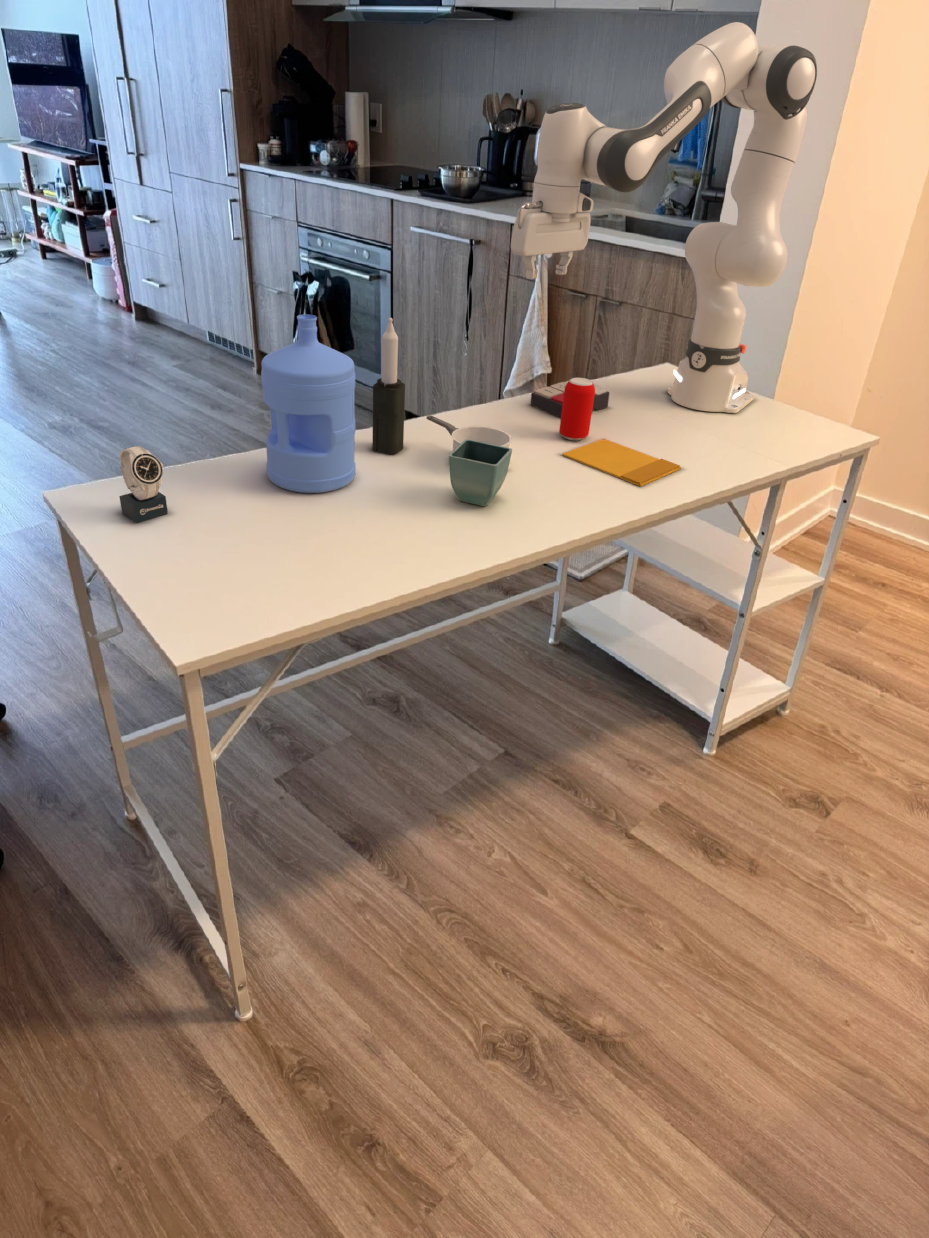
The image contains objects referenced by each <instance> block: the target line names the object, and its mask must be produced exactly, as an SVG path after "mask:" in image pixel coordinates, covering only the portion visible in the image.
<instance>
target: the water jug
mask: <svg viewBox="0 0 929 1238" xmlns="http://www.w3.org/2000/svg"><path fill="white" fill-rule="evenodd" d="M296 319H297V324H298V325H297V335H298V336H297V340H296V341H295V342H293V343H290V344H288V345H286V346H283V347H280V348H279V349H277V350H274V351H272V352H269V353H267V354H266V355H265V356H264V357H263V358H262V360H261V371H260V378H261V385H262V386H261V387H262V394H263V395H262V396H263V402H264V404H265V405H266V406H268V407H269V409H270V410H269V411H270V431H269V434H268V435H267V437H266V439H265V445H266V446H265V447H266V449H265V450H266V475H267V478H268V479H269V480H270V482H272V483H273V484H274V485H275V486H277V487H279V488H282V489H284V490H287V491H290V492H296V493H302V494H303V493H304V494H319V493H327V492H332V491H336V490H339V489H342V488H344V487H346V486H348V485H349V484H350V483H352V482H353V480H354V479H355V476H356V462H355V461H356V460H355V456H356V455H355V447H356V445H355V443H356V442H355V440H356V439H355V438H356V437H355V435H356V416H355V413H356V412H355V390H356V371H355V361H354V360H353V359H352V358H351V357H350V356H348V355H347V354H345V353H343V352H341V351H338V350H336V349H334V348H332V347H330V346H327V345H325V344H323V343H321V342H319V339H318V333H317V332H318V326H317V320H318V317H317V315H313V314H307V313H306V314H305V313H304V314H298V315H297V316H296Z"/></svg>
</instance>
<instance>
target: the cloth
mask: <svg viewBox="0 0 929 1238" xmlns="http://www.w3.org/2000/svg"><path fill="white" fill-rule="evenodd" d="M561 455H562V457H564V458H568V459H570V460H572V461H574V462H578V463H580V464H582V465H585V466H588V467H591V468H593V469H594V470H598V471H599V472H603V473H605V474H607V475H611V476H612V477H615V478H618V479H620V480H623V481H625V482H627V483H631V484H633V485H635V486H637V487H640V488H641V487H644V486H647V485H648V484H650V483H653V482H655V481H657V480H659V479H662V478H664V477H666V476H669V475H672V474H673V473H675V472H678V471H680V470H681V469H682V467H681V465H680V464H677V463H675V462H672V461H669V460H666V459H665V458H657V457H654V456H651V455H649V454H646V453H644V452H640V451H638V450H635V449H633V448H630V447H628V446H624V445H622V444H619V443H616V442H613V441H612V440H608V439H606V438H601V439H598V440H597V441H594V442H590V443H588V444H585V445H583V446H579V447H576V448H574V449H571V450H568V451H566V452H563V453H562V454H561Z"/></svg>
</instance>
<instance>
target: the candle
mask: <svg viewBox="0 0 929 1238" xmlns="http://www.w3.org/2000/svg"><path fill="white" fill-rule="evenodd" d="M387 320H388V323H387V326H386V328H385V331H384V333H383V335H382V336H381V377H380V378H378V379H377V380H376V382H375V383H374V384H373V385H372V443H371V445H372V449H371V450H372V451H373V452H375V453H382V454H386V455H388V456H389V455H390V456H394V455H397V454H398V453H399V452H401V451H402V450H403V449H404V436H405V435H404V434H405V406H406V405H405V399H406V398H405V397H406V384H405V383H404V382H402V380H401V379H399V378H398V358H399V357H398V356H399V355H398V354H399V336H398V335H397V333H396V331H395V327H394V323H393V321H394V320H393V318H392V317H389V318H387Z"/></svg>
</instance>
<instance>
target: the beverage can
mask: <svg viewBox="0 0 929 1238" xmlns="http://www.w3.org/2000/svg"><path fill="white" fill-rule="evenodd" d="M567 381H568V383H567V384H566V386H565V391H564V398H563V406H562V413H561V417H560V421H559V429H558V433H559V435H560V436H561V437H563V438H565V439H566V440H568V441H573V442H575V441H582V440H585V439H586V438H587V437H588V436H589V435H590V429H591V421H592V415H593V410H594V409H593V402H594V396H595V387H594V386H595V385H594V382H593V381H592V380H591V379H588V378H585V377H572V378H571V379H569V380H567ZM592 409H593V410H592Z"/></svg>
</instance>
